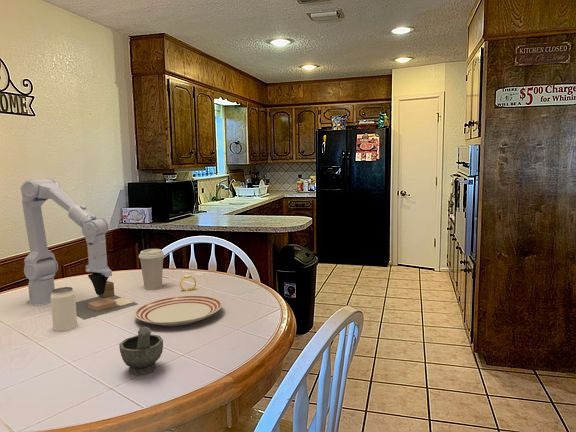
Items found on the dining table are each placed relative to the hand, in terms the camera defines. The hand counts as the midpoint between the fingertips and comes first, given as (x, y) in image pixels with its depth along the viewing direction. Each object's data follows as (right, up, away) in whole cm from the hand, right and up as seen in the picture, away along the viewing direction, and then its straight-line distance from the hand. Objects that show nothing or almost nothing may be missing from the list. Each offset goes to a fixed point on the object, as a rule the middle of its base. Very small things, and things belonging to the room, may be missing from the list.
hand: (100, 294), depth 150 cm
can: (-3, -7, -18) cm, 20 cm away
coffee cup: (+11, -2, +23) cm, 25 cm away
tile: (-2, -3, +2) cm, 4 cm away
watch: (+26, -2, +19) cm, 32 cm away
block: (-3, -3, +12) cm, 13 cm away
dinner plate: (+29, -6, -9) cm, 31 cm away
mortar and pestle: (+30, -10, -46) cm, 56 cm away
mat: (-1, -5, +2) cm, 5 cm away
